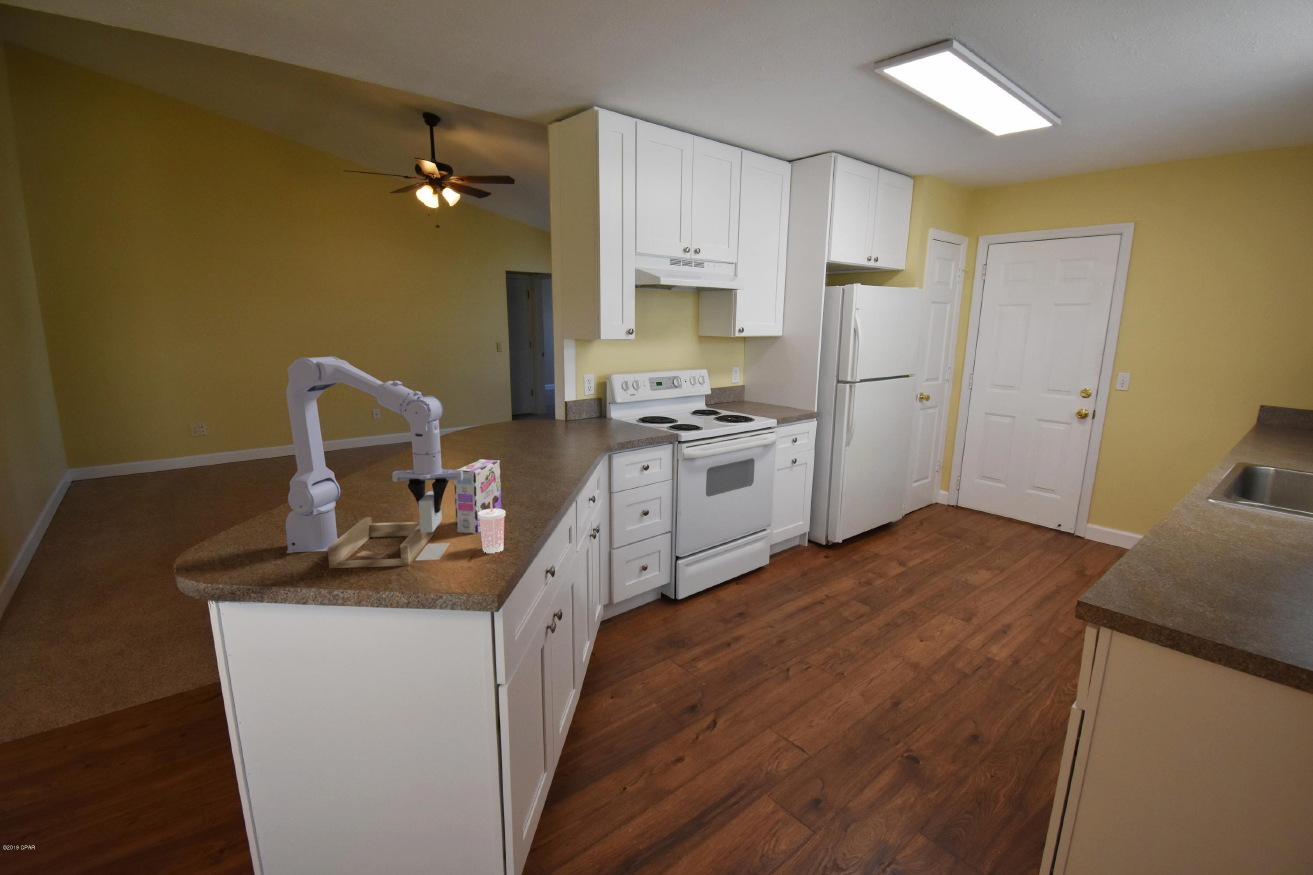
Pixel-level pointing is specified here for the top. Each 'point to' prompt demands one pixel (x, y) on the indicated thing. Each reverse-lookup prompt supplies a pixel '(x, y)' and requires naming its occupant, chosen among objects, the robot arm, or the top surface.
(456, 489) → the candy box
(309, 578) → the top surface
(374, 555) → the offcut short
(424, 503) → the panel
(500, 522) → the beverage cup
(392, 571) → the top surface
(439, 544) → the mat
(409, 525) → the rack
